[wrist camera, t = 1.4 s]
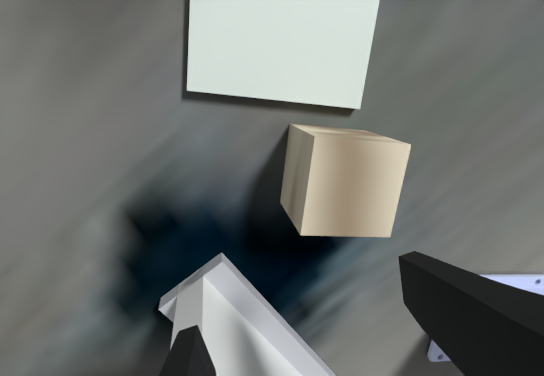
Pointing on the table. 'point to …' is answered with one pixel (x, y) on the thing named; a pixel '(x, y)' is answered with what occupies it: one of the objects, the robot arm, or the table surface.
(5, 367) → the table surface
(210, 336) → the divider screen
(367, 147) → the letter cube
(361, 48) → the sage pad
